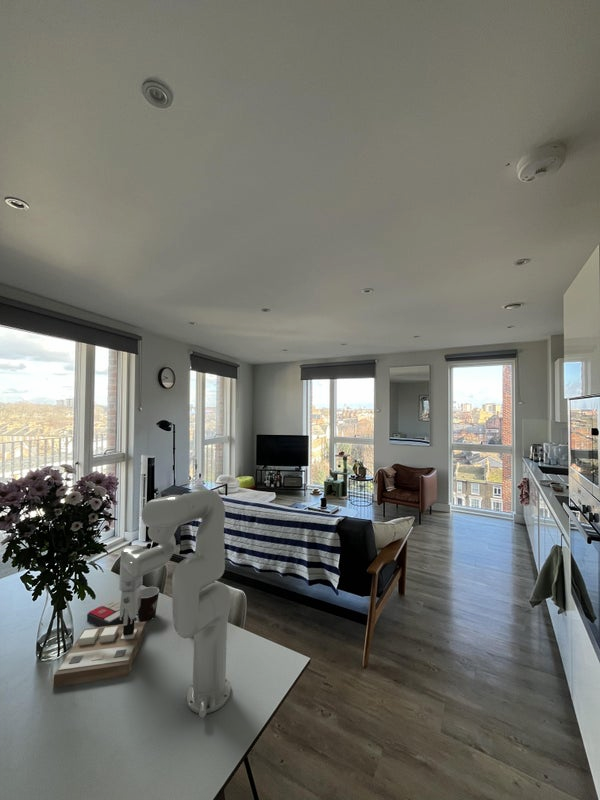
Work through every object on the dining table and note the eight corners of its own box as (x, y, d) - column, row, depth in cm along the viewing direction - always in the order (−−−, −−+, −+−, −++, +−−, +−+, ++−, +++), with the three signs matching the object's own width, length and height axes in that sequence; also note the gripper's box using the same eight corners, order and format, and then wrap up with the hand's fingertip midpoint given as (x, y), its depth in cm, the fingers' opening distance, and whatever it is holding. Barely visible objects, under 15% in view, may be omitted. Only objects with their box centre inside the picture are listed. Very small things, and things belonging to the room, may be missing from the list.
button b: (113, 644, 113) (114, 634, 113) (99, 646, 112) (100, 635, 112) (117, 636, 117) (118, 626, 118) (104, 637, 116) (104, 627, 117)
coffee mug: (151, 608, 138) (152, 584, 139) (162, 615, 133) (163, 591, 134) (123, 622, 129) (124, 596, 129) (134, 630, 124) (135, 604, 124)
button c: (93, 647, 112) (93, 636, 112) (78, 649, 111) (79, 638, 111) (98, 638, 116) (98, 628, 116) (84, 640, 115) (84, 630, 115)
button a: (133, 647, 115) (133, 637, 115) (120, 648, 114) (120, 638, 114) (136, 638, 119) (137, 629, 119) (123, 640, 118) (124, 630, 118)
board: (128, 675, 102) (128, 662, 103) (53, 686, 98) (54, 673, 98) (145, 630, 124) (145, 620, 124) (84, 638, 119) (84, 627, 119)
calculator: (113, 598, 140) (135, 606, 133) (113, 608, 139) (135, 617, 132) (86, 611, 130) (109, 621, 123) (86, 622, 130) (109, 633, 123)
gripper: (136, 591, 111) (134, 646, 110) (146, 571, 126) (144, 619, 125) (112, 594, 109) (109, 649, 108) (126, 573, 124) (123, 622, 123)
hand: (128, 633), depth 117 cm, fingers closed
